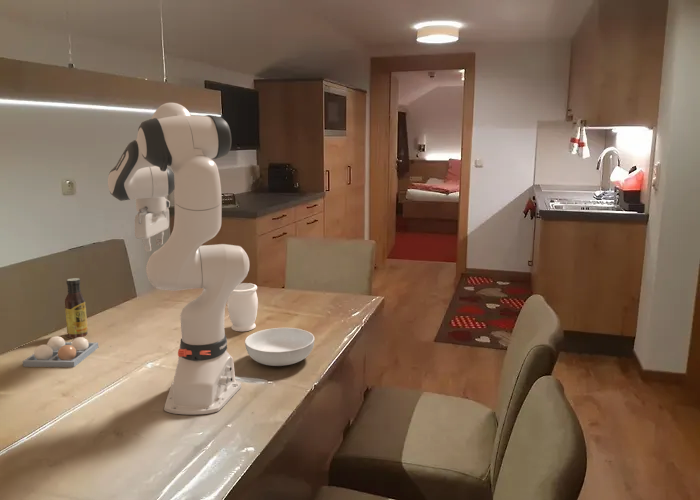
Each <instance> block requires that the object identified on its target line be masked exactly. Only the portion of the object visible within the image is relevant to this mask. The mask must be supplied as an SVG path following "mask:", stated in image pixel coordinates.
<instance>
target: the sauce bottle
mask: <svg viewBox="0 0 700 500" xmlns="http://www.w3.org/2000/svg"><path fill="white" fill-rule="evenodd" d="M66 285H67V294H66V297H65V299H64V303H65V304H64V305H65V306H64V311H65V321H66V333H67V337H68V338H69V339H75V338H77V337H83V338H85V337H86V336H88V331H89V329H88V317H87V305H86V300H85V298H84V296H83V294H82V292H81V279H80V278H79V277H73V278H67V279H66Z"/></svg>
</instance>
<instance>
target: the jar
mask: <svg viewBox="0 0 700 500" xmlns="http://www.w3.org/2000/svg"><path fill="white" fill-rule="evenodd" d="M257 290H258V286H257V285H256V284H254V283H251V282H249V283H248V282H241V283H240V284H238V285H237V286H236V287H235V289H234V290H233V291H232V293H231V294H230V296H229V298H228V300H227V303H226V305H227V311H228V316H229V320H230V322H231V324H232V325H231V328H230V329H231V330H232V331H235V332H248V331H251V330H254V329H255V328H256V327H257V325H256V323H255V322H256V319H257V315H258V308H259V307H258V306H259V299H258V294H257Z"/></svg>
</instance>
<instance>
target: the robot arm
mask: <svg viewBox="0 0 700 500" xmlns="http://www.w3.org/2000/svg"><path fill="white" fill-rule="evenodd" d="M231 131H232V130H231V129H230V126H229V124H228V122H227V121H226V120H225V119H224V118H223V117H221V116H217V115H211V114H207V115H192V114H191V112H190V111H189V110H188V109H187V108H186V107H185V106H183V105H182V104H180V103H177V102H165V103H163V104H161V105H160V106H158V107H157V109H156V110H155V111H154V113H153V115H152V116H151V118H149V119H146V120H143V121H142V122H140V124H139V127H138V129H137V137H136V139H135V140H132V141H131V142H129V143H127V146H126V147H125V149H124V151H123V153H122V154H121V155H120V157H119V159H118V160H117V163H116V165H115V166H114V167H113V168H112V169H111V170H110V172H109V174H108V177H107V187H108V190H109V193H110V195H112V197H114V198H115V199H116V200H118V201H120V202H122V201H123V202H124V201H129V200H130V201H131V200H135V206H136V207H135V208H136V209H135V210H136V212H138V213H137V214H136V215H135V216H134V236H135V238H136V240H141V242H142V245H143V246H144V251H145V252H152V250H153V245H152V243H151V239H152V238H151V237H154V236H155V235H156V239H155V245H156V246H161V247H160V248H158V249H157V250H155V251H154V252H153V253H152V254H151V255H150V256H149V258H148V260H147V263H146V267H145V269H146V271H145V272H146V277H147V279H148V281H149V283H150V284H151V286H153V288H155V289H157V290H166V291H183V290H184V291H185V290H186V291H187V290H194V289H202V291H201V293H200V295H198V297H196V298H194V299H192V300H191V301H190V302H188V303H187V304H185V306H184V307H183V308H182V309H181V312H180V315H179V316H180V329H181V338H180V343H179V349H178V350H177V356H178V358H177V359H178V360H177V365H176V368H175V374H174V377H173V378H174V379H173V381H172V383H171V385H170V389H169V392H168V394H167V397H166V400H165V402H164V407H163V410H164V411H165V412H167V413H170V414H173V415H174V414H176V415H187V416H189V415H191V416H192V415H196V416H197V415H206V414H207V415H208V414H213V413H216V412H217V413H218V412H220V411H221V409H222V408H223V407H224V406H225V405H226V404H227V403H228V402H229V401H230V400H231V398H233V396H234V395H236V394H237V393H238V391H239V390H240V389H241V388H242V383H241V381H239V380H236V375H235V374H236V373H235V364H234V358H233V356H232V355H230V353H229V352H228V351H227V349H228V338H227V334H225V333H226V332H225V313H226V312H225V311H226V305H227V300H228V298H229V296H230V294H231V293H232V291H233V290H234V289H235V287H236V286H237V285H238V284H240V283H243V282H244V280H245V279H246V278H247V276H248V273H249V271H250V258H249V256H248V254H247V252H246V251H245V249H244V248H243V247H242V246H241V245H236V244H234V245H233V244H226V243H219V244H208V245H207V244H205V243H207V242H208V241H210V240H212V239H213V238H215V237H216V236H217V235H218V233H219V232H220V230H221V227H222V214H223V213H222V211H223V210H222V205H223V204H222V202H223V201H222V197H223V196H222V195H223V194H222V183H221V178H220V177H221V176H220V172H219V168H218V165H217V163H216V162H215V161H214V160H216V159H219V158H224V157H225V156H227V155H228V154H229V152H230V151H231V148H232V140H233V139H232V133H231ZM168 166H169V167H168ZM170 168H171V169H170ZM173 192H174V193H173ZM172 193H173V194H174V195H173V196H174V197H173V199H174V202H173V203H174V218H173V219H174V220H173V229H172V232H171V233H170V236H169V238H168V239H167V240H166V242H165V243H163V242H164V241H163V240H164V235H165V231H166V230H168V229H169V227H170V209H169V208H171V207H170V206H171V201H170V200H168V199H167V198H166V197H169V196H170V195H171V194H172ZM203 244H205V245H203Z"/></svg>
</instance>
